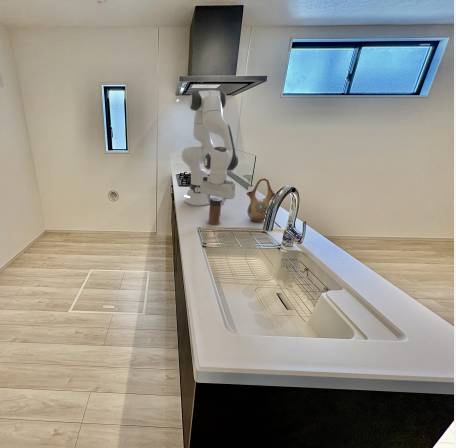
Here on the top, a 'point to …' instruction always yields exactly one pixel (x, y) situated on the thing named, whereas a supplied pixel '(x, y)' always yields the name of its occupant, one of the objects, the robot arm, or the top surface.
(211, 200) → the jar lid
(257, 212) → the ceramic vessel
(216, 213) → the coffee jar
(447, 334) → the top surface
